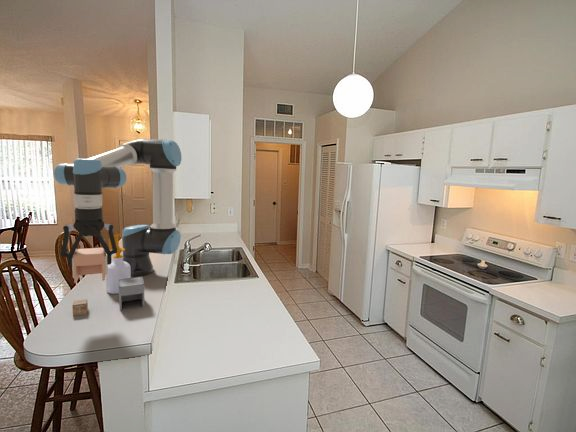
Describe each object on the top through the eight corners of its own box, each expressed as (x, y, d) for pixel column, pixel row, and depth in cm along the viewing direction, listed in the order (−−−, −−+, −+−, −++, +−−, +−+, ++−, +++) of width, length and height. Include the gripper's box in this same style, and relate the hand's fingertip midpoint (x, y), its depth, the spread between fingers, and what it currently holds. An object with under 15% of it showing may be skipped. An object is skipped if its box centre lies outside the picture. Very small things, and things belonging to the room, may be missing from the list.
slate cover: (119, 301, 119) (118, 279, 118) (142, 298, 123) (142, 276, 122) (119, 310, 112) (119, 286, 111) (144, 306, 116) (144, 283, 115)
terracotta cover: (77, 274, 104) (76, 248, 102) (105, 272, 108) (105, 247, 106) (74, 283, 97) (73, 255, 95) (104, 280, 100) (103, 253, 99)
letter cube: (74, 311, 110) (73, 300, 109) (87, 309, 112) (87, 298, 111) (72, 316, 106) (72, 305, 106) (86, 313, 108) (86, 303, 108)
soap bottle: (115, 296, 124) (114, 236, 120) (101, 291, 127) (99, 233, 124) (135, 288, 132) (134, 232, 128) (121, 284, 136) (120, 229, 132)
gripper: (45, 208, 91) (49, 282, 94) (125, 208, 101) (126, 275, 104) (50, 205, 97) (53, 274, 100) (125, 206, 107) (126, 268, 110)
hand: (90, 275), depth 102 cm, fingers closed on terracotta cover, 8 cm apart
